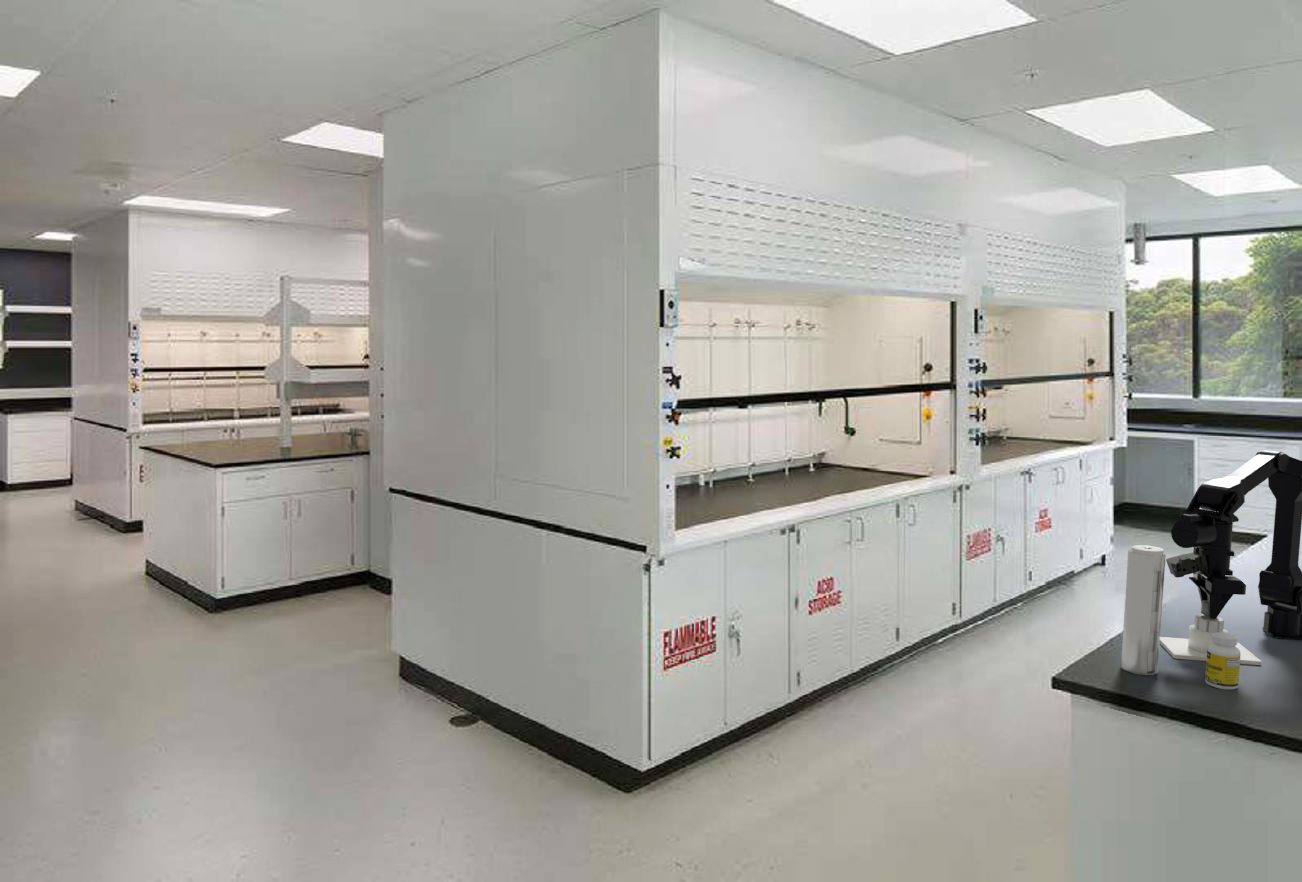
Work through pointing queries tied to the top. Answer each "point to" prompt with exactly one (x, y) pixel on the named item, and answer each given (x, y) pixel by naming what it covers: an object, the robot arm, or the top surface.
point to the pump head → (1205, 610)
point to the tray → (1182, 651)
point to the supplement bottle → (1223, 662)
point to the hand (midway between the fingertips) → (1209, 616)
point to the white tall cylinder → (1143, 609)
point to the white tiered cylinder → (1204, 632)
